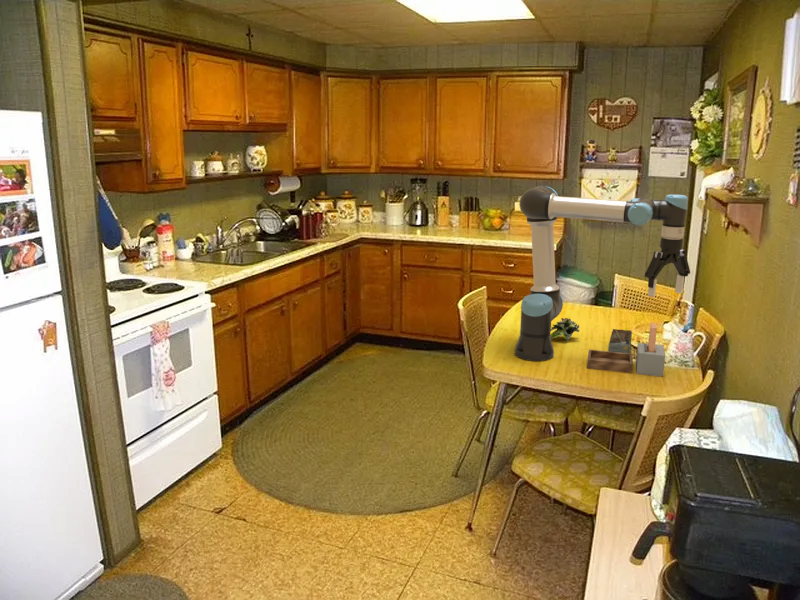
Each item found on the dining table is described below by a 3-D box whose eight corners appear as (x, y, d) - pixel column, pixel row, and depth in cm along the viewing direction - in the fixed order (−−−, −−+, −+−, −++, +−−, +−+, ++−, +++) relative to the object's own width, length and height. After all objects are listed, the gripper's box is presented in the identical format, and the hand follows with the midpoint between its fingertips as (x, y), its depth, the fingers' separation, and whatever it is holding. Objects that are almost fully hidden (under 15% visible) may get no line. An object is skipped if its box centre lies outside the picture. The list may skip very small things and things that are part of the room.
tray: (586, 368, 240) (587, 359, 239) (588, 357, 251) (588, 349, 250) (632, 373, 235) (633, 364, 235) (631, 362, 246) (632, 353, 246)
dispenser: (636, 373, 235) (638, 351, 233) (635, 362, 246) (637, 341, 244) (663, 376, 232) (665, 354, 230) (661, 365, 243) (663, 343, 241)
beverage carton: (607, 356, 254) (608, 340, 252) (611, 342, 271) (612, 327, 269) (628, 359, 251) (629, 343, 249) (631, 344, 268) (632, 329, 266)
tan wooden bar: (646, 366, 236) (651, 327, 232) (646, 361, 242) (650, 323, 238) (652, 367, 236) (657, 328, 232) (652, 362, 241) (656, 323, 237)
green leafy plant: (563, 349, 278) (580, 326, 277) (570, 353, 267) (587, 329, 266) (542, 334, 277) (558, 311, 277) (548, 337, 266) (565, 313, 266)
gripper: (654, 241, 226) (647, 300, 231) (705, 237, 236) (697, 293, 241) (638, 238, 233) (632, 295, 238) (688, 234, 243) (681, 289, 248)
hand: (665, 294), depth 240 cm, fingers open, 13 cm apart
